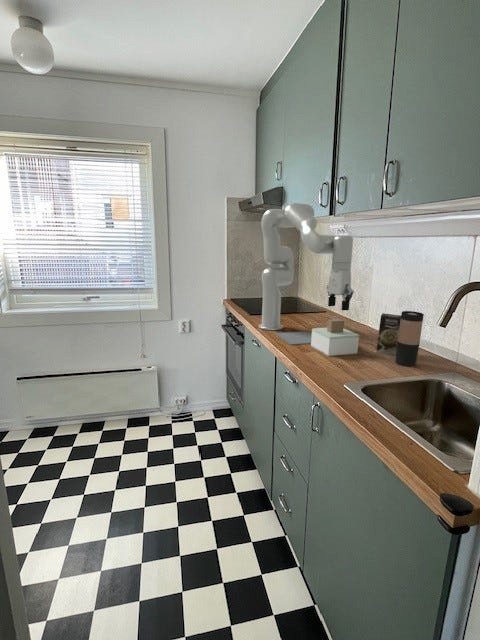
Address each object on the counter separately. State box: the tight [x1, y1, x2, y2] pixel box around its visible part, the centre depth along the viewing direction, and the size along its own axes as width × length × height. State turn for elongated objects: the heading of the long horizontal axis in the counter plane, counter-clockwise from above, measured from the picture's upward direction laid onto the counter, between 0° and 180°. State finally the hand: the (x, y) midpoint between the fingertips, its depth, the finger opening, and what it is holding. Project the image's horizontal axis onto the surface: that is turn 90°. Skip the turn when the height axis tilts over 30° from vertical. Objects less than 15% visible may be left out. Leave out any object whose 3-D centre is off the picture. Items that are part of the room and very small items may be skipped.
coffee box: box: [375, 312, 401, 356], centre depth 144 cm, size 9×6×16 cm
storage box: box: [310, 330, 360, 357], centre depth 147 cm, size 14×14×7 cm
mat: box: [274, 331, 312, 346], centre depth 164 cm, size 18×18×1 cm
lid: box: [311, 318, 360, 339], centre depth 146 cm, size 14×14×7 cm
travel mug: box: [395, 310, 425, 367], centre depth 131 cm, size 8×8×20 cm
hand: (338, 308), depth 143 cm, fingers open, 9 cm apart
